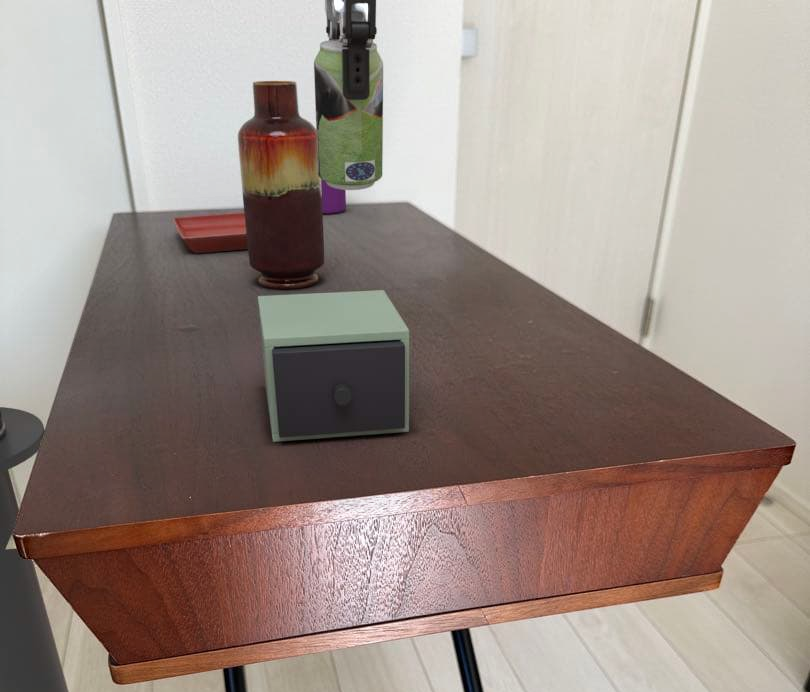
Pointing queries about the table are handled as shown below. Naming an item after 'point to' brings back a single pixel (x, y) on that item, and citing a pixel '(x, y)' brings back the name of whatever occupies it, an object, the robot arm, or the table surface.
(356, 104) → the beverage can
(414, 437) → the table surface
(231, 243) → the plant saucer
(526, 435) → the table surface
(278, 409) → the drawer
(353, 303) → the cabinet
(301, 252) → the vase
